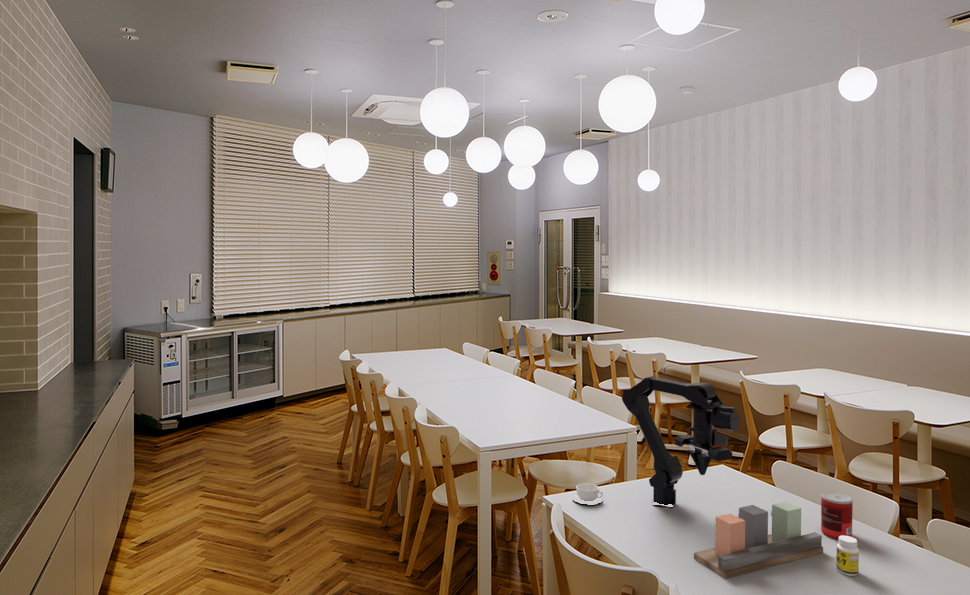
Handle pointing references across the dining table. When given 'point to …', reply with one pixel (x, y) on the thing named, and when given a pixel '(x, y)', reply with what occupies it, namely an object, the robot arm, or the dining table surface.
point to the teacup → (588, 491)
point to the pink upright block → (729, 534)
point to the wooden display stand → (761, 555)
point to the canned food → (836, 514)
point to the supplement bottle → (847, 556)
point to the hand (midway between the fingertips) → (702, 474)
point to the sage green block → (785, 521)
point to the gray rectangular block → (754, 525)
